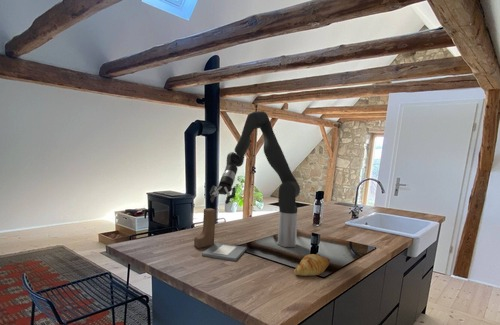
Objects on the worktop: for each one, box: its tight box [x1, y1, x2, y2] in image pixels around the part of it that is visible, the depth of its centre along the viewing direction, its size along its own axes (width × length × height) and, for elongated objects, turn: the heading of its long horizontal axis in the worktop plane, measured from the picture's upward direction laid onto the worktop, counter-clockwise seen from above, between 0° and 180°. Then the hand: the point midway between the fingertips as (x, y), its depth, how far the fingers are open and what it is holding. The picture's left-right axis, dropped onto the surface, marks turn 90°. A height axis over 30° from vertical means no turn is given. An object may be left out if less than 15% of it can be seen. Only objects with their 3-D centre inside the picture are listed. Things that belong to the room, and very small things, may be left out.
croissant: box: [293, 253, 330, 277], centre depth 117 cm, size 21×10×8 cm, turn 129°
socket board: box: [201, 242, 247, 262], centre depth 133 cm, size 16×16×1 cm
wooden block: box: [193, 207, 217, 249], centre depth 141 cm, size 9×4×18 cm, turn 128°
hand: (219, 202), depth 155 cm, fingers open, 8 cm apart
